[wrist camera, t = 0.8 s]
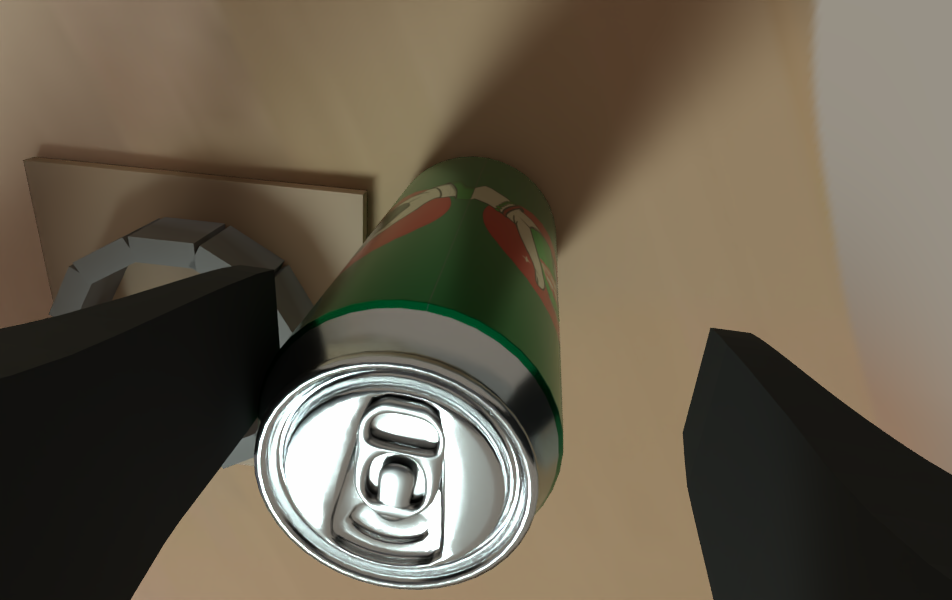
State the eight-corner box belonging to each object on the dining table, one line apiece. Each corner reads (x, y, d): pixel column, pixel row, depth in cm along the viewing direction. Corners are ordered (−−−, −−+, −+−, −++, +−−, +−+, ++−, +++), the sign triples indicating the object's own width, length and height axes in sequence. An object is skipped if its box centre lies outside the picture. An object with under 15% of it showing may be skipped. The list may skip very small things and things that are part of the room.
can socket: (91, 436, 26) (46, 477, 23) (34, 157, 21) (-29, 174, 19) (365, 471, 25) (346, 518, 23) (366, 190, 20) (343, 213, 18)
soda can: (388, 289, 22) (226, 573, 11) (406, 138, 20) (228, 300, 9) (537, 318, 22) (526, 636, 11) (572, 169, 19) (603, 374, 8)
